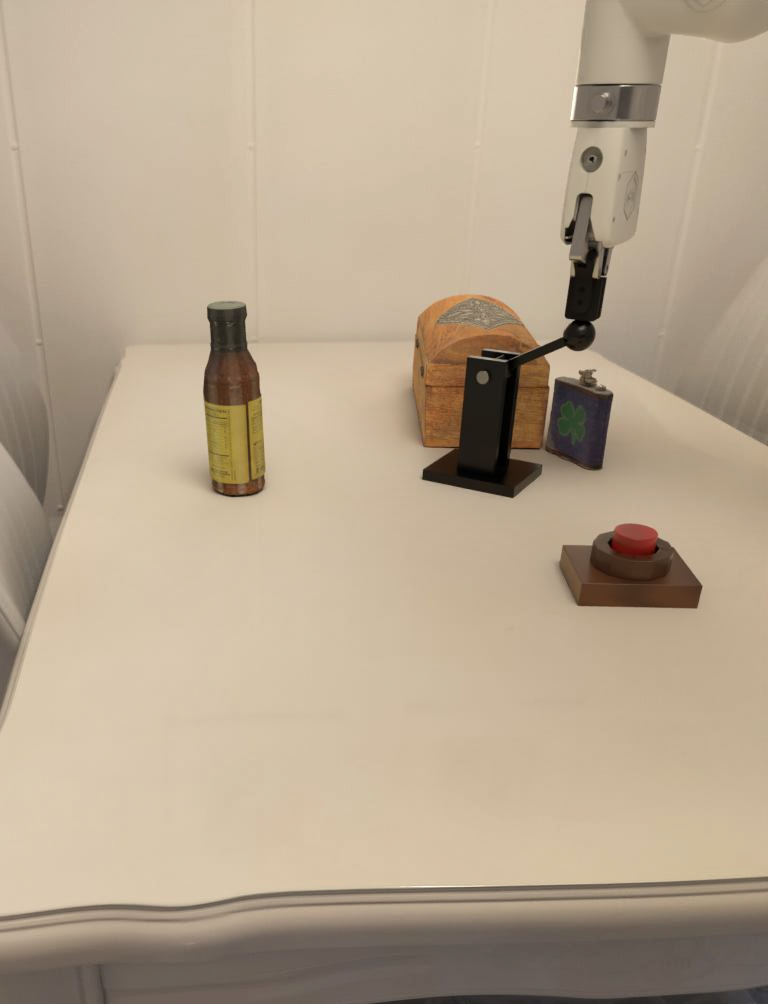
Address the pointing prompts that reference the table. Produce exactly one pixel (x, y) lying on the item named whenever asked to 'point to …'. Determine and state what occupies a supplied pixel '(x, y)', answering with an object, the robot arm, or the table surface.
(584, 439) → the flask
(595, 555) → the button block
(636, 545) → the button
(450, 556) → the table surface
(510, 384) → the bracket
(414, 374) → the wooden box
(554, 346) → the lever
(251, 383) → the sauce bottle
